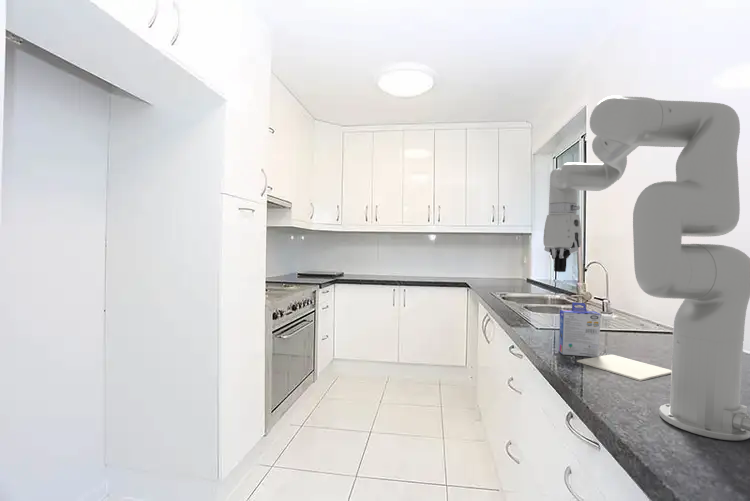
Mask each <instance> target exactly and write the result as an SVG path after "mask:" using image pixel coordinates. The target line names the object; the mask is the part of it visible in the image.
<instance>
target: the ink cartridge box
mask: <svg viewBox="0 0 750 501" xmlns="http://www.w3.org/2000/svg"><path fill="white" fill-rule="evenodd" d="M577 306H581V307H577ZM601 316H602V315H601V314H600V312H597V311H591V310H587V307H586V303H585V302H573V301H572V302H571V310H567V309H559V338H558V339H559V340H558V343H559V344H558V351H559V353H560V354H561V355H563V356H565V355H566V356H579V357H580V356H581V357H589V358H593V357H599V356H600V338H601V318H602V317H601Z"/></svg>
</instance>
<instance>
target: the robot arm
mask: <svg viewBox="0 0 750 501" xmlns="http://www.w3.org/2000/svg"><path fill="white" fill-rule="evenodd" d="M589 128H590V131H591V132H592V134H594V135H595V137H594V138H593V140H592V144H591V148H592V149H591V150H592V152H593V154H594V155H595V157H596V158H597V159H599V161H601V162H602V163H589V162H587V163H586V162H566V163H564V164H561V166H560V167H558V168H554V169H552V170H551V172H550V176H549V193H548V194H549V195H548V214H547V215H546V218H545V223H544V228H543V241H542V242H543V246H544V251H545V252H548V253H550V254H551V257H552V259H554V260H553V272H556V273H557V272H558V273H565V272H566V271H567V261H568V260H567V259H569V257H570V256H571V255H572V254H575V253H579V249H580V248H581V246H582V225H581V219H580V214H577V211H579V210H580V208H581V207H580V205H578V204H577V202H578V201H577V200H578V191H583V192H584V191H588V192H590V191H591V192H600V191H603V190H606V189H608V188H610V187H611V186H612V185H614V184H615V183H616V182H618V181H619V180H620V179H621V178H622V176H623V175H624V173H625V171H626V168H627V165H628V157H627V156H629V155H630V154H631V153H632V152H634V151H635V150H636V149H637V148H638V147H657V148H659V147H660V148H666V147H667V148H683V149H682V150H681V152H680V153H679V155H678V158H677V160H676V163H675V181H673V180H671V181H670V180H669V181H668V180H667V181H666V180H664V181H657V182H653V183H651V184H649V185H647V186H646V187H645V188H644V189H642V191H641V192H640V193H639V195H638V197H637V198H636V201H635V203H634V207H633V213H632V235H633V237H632V238H633V240H632V241H633V264H634V267H633V268H634V273H635V279H636V282H637V284H638V286H639V288H640V289H641V290H642V291H643V292H644V293H645V294H647V295H648V296H651V297H653V298H659V299H660V298H661V299H679V300H683V299H684V300H683V302H681V305H680V306H679V308H677V312H676V314H675V315H674V320H673V331H672V346H671V347H672V348H671V350H672V351H671V368H670V370H671V374H670V392H669V394H670V395H669V403H665V404H662V405H660V407H659V408H658V414H659V417H661V419H662V420H664V421H665V423H668V424H670V425H671V426H673V427H675V428H679V429H681V430H682V431H686V432H689V433H692V434H695V435H699V436H702V437H707V438H711V439H716V440H722V441H723V440H724V441H745V440H748V439H750V414H749V413H748V406H747V405H744V404H741V390H742V371H743V354H744V353H743V351H744V350H743V349H744V340H745V339H744V338H745V327H746V326H745V324H746V317H747V316H746V315H747V309H748V305H749V301H750V257H749V256H748V254H746V253H745V252H743V251H742V250H740V249H738V248H735V247H732V246H728V245H724V244H711V243H709V244H708V243H707V244H706V243H682V237H700V238H701V237H702V238H705V237H710V238H711V237H719V236H725V235H728V234H729V233H730V232H732V231H733V230H734V229H735V228H736V227H737V226H738V222H739V219H740V211H741V207H740V183H739V168H738V155H737V154H738V145H739V141H740V140H739V139H740V133H741V131H740V130H741V124H740V117H739V115H738V113H737V112H736V111H735V109H734V108H733V107H731V106H730V105H728V104H725V103H721V102H720V103H719V102H710V101H694V100H693V101H691V100H667V99H666V100H661V99H655V98H651V97H644V96H624V95H611V96H607V97H605V98H603V99H602V100H600V101H599V102H598V103H597V104H596V106H594V108H593V109H592V112H591V115H590V118H589Z"/></svg>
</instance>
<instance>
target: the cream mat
mask: <svg viewBox="0 0 750 501" xmlns="http://www.w3.org/2000/svg"><path fill="white" fill-rule="evenodd" d="M576 362H577V363H580V364H583V365H587V366H590V367H593V368H596V369H600V370H604V371H607V372H609V373H613V374H616V375H619V376H622V377H625V378H629V379H632V380H636V381H640V382H641V381H645V380H650V379H654V378H658V377H662V376H666V375H671V369H669V368H664V367H661V366H658V365H654V364H649V363H646V362H643V361H638V360H634V359H631V358H627V357H623V356H619V355H616V354H606V355H599V357H589V358H587V357H586V358H583V359H578V360H576Z"/></svg>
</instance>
